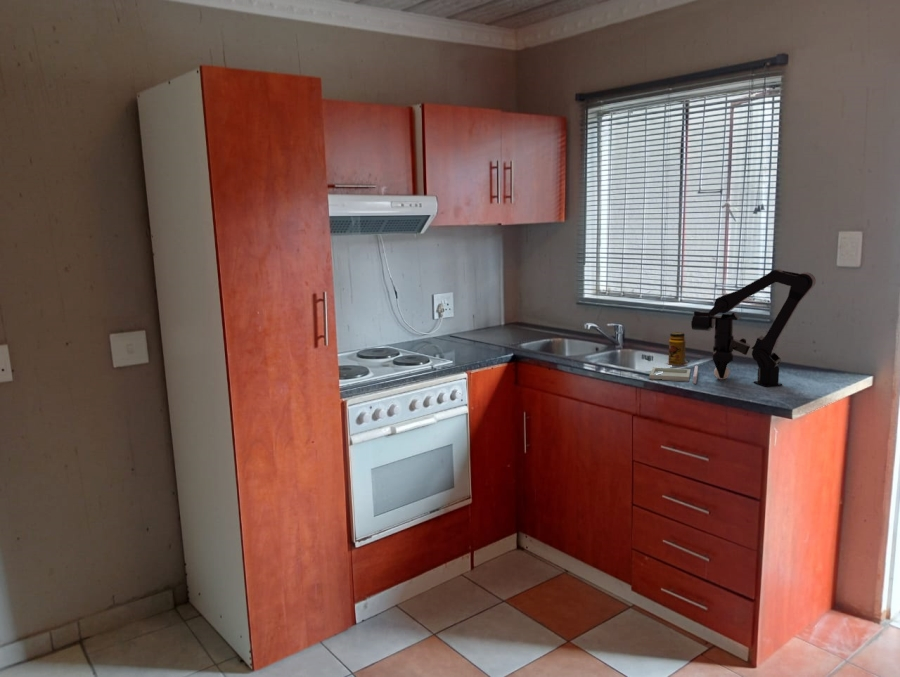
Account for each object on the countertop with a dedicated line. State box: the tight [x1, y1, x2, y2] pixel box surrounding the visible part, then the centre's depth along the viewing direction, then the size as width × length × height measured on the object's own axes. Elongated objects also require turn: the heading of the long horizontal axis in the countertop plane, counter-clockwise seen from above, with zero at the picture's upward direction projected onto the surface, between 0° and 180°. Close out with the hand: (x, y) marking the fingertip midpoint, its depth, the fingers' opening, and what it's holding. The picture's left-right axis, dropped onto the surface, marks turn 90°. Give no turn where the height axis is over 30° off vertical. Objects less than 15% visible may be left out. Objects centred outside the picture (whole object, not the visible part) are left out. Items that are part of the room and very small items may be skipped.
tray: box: [649, 367, 691, 382], centre depth 243 cm, size 13×13×2 cm
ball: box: [713, 366, 731, 380], centre depth 237 cm, size 5×5×5 cm
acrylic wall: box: [692, 365, 699, 384], centre depth 240 cm, size 18×1×2 cm, turn 159°
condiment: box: [666, 331, 689, 367], centre depth 264 cm, size 7×8×12 cm
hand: (721, 376), depth 237 cm, fingers closed on ball, 5 cm apart
